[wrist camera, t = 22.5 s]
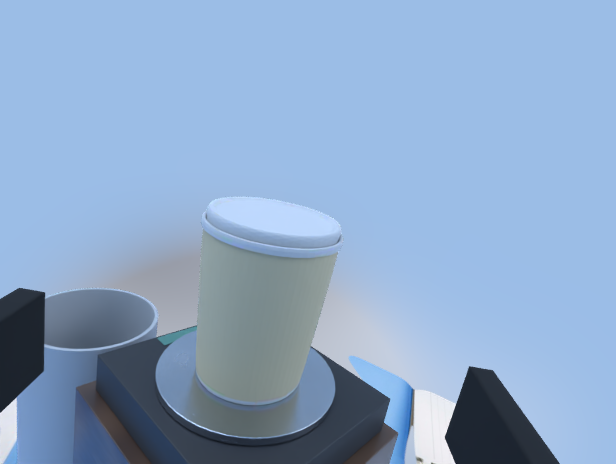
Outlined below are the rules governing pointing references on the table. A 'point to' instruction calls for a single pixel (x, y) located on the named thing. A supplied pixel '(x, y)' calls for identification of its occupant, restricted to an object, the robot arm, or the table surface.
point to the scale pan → (236, 417)
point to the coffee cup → (260, 295)
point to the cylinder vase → (75, 364)
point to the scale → (223, 456)
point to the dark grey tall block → (130, 458)
